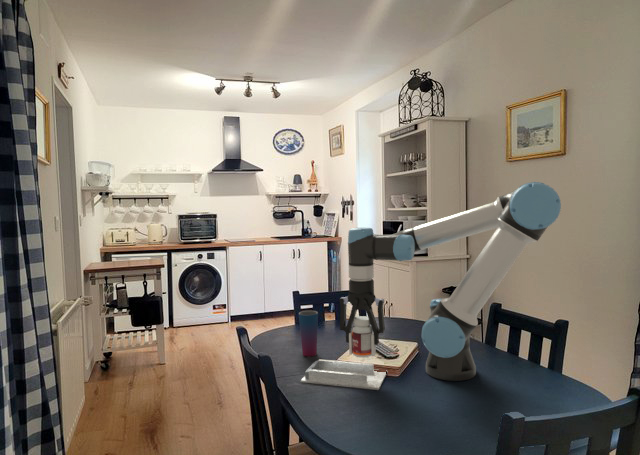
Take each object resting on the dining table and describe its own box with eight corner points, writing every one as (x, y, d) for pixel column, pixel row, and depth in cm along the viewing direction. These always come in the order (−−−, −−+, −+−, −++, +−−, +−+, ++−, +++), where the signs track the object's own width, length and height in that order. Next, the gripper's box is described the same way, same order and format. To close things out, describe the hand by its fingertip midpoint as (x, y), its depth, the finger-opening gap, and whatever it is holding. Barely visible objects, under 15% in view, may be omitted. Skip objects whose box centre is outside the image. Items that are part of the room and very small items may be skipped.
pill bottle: (349, 353, 143) (348, 317, 143) (366, 350, 146) (366, 314, 145) (358, 359, 138) (357, 321, 137) (376, 356, 140) (375, 319, 139)
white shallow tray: (387, 372, 147) (387, 362, 147) (378, 390, 133) (378, 379, 133) (315, 366, 154) (315, 357, 154) (300, 382, 141) (300, 372, 141)
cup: (297, 356, 165) (295, 314, 164) (304, 350, 171) (303, 310, 170) (314, 358, 162) (313, 315, 161) (321, 352, 168) (320, 311, 168)
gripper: (394, 277, 141) (395, 352, 142) (334, 275, 147) (335, 347, 148) (390, 282, 134) (391, 360, 135) (327, 279, 140) (328, 355, 141)
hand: (362, 353), depth 142 cm, fingers closed on pill bottle, 6 cm apart
